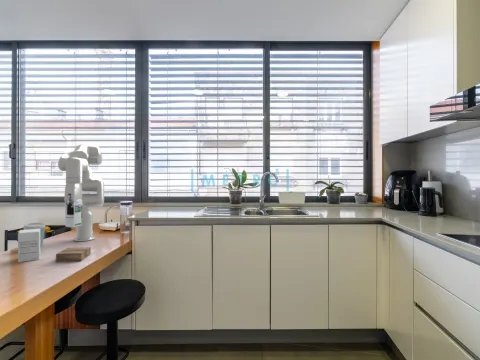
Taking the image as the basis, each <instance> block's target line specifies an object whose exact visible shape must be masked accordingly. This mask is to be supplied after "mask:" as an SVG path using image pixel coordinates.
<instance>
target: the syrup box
mask: <svg viewBox="0 0 480 360" xmlns="http://www.w3.org/2000/svg"><path fill="white" fill-rule="evenodd" d="M71 201H73V200H71ZM71 204H72V203H71ZM73 207H74V215H67V205H66V202H65V201H64V213H65V214H64V217H65V218H64V219H65V222H64V224H65V228H66V227H67V228H77V226H82V225H83V223H82V199H78V200H77V201H76V202H74V205H73Z"/></svg>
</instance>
